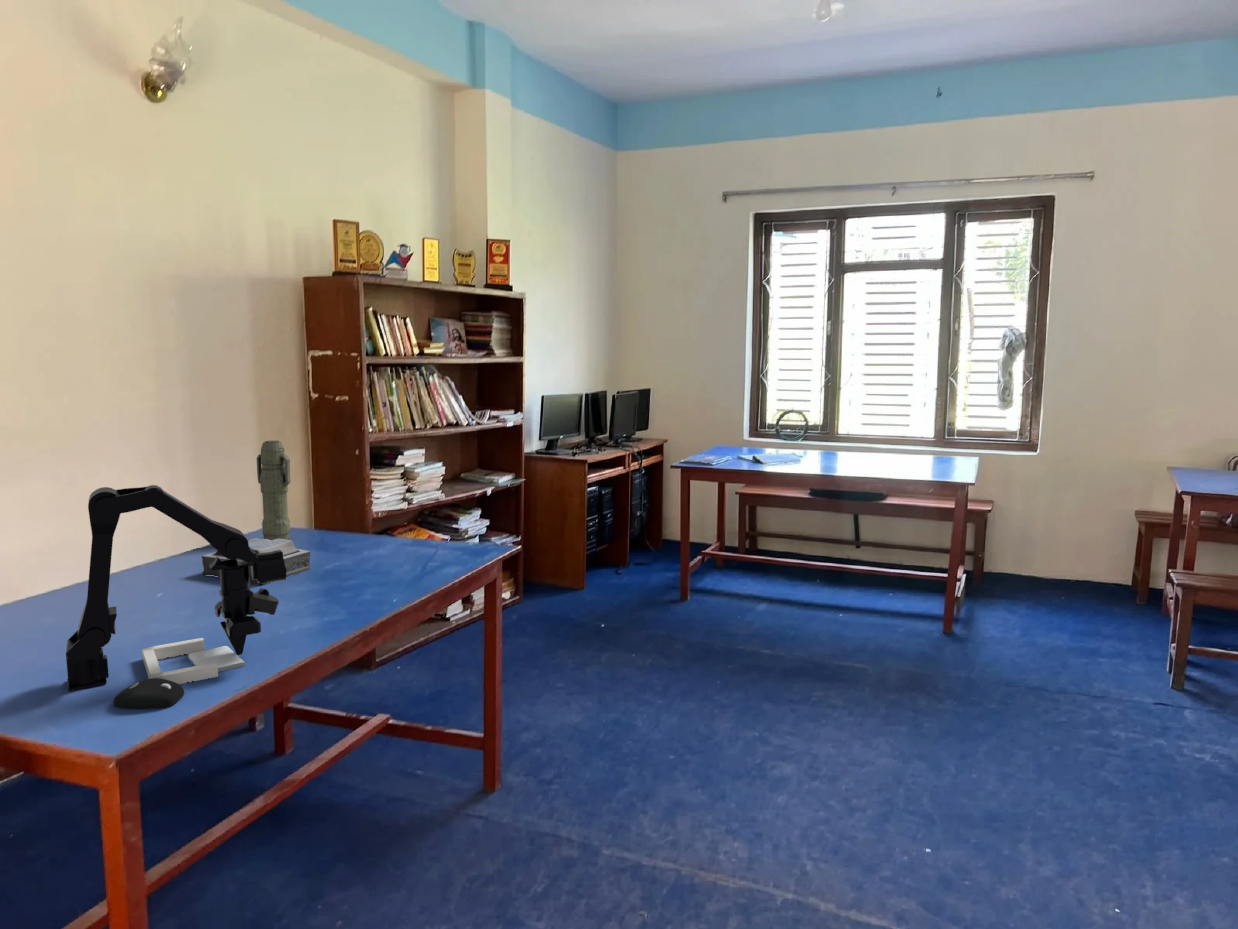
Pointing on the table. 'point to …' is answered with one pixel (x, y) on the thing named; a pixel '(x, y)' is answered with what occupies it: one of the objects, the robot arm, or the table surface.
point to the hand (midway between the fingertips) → (239, 654)
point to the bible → (292, 557)
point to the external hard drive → (217, 658)
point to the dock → (178, 649)
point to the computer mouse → (149, 694)
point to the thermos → (274, 489)
